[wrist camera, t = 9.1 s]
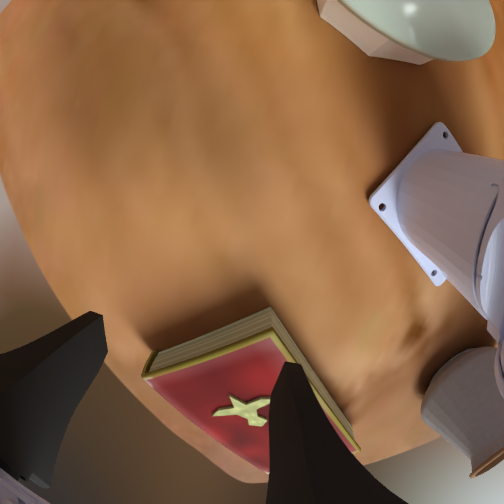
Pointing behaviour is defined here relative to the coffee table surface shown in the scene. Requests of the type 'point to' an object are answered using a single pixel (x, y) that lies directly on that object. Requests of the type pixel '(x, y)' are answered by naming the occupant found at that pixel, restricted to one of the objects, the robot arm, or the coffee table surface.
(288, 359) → the hardcover book
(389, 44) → the bowl
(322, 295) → the coffee table surface
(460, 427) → the coffee pot
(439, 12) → the lid
